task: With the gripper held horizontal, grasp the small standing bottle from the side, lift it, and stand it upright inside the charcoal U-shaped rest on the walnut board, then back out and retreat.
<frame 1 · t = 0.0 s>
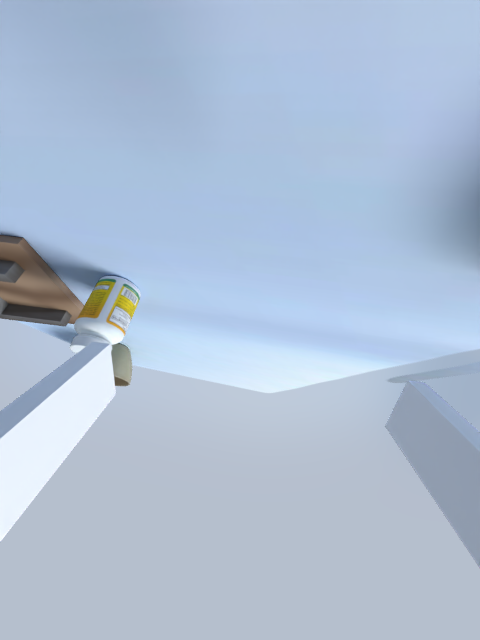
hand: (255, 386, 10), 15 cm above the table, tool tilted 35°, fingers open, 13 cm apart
u rest: (20, 283, 33), on the table
beige bowl: (117, 345, 50), on the table
supplement bottle: (121, 286, 31), on the table
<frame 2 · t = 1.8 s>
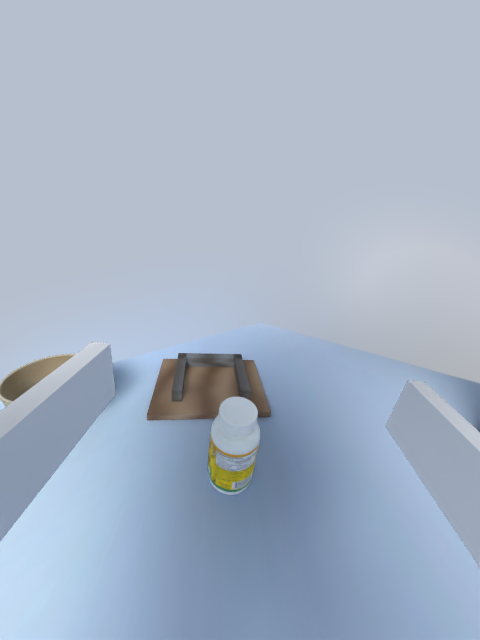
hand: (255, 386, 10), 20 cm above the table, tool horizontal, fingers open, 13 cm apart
u rest: (210, 386, 40), on the table
beige bowl: (64, 418, 32), on the table
supplement bottle: (229, 472, 27), on the table
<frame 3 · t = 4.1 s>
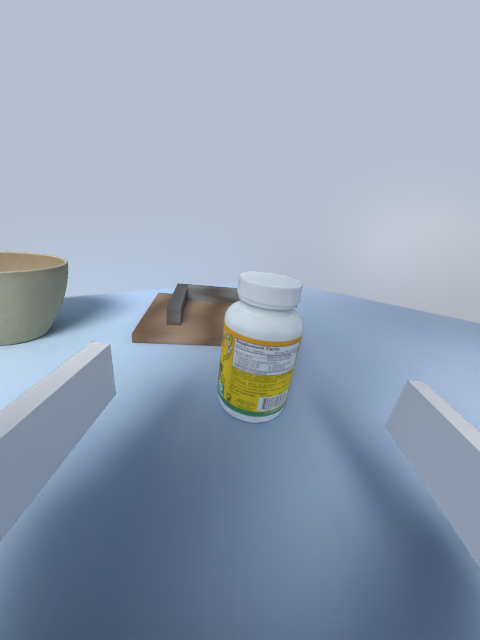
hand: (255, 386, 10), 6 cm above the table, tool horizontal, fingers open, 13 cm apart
u rest: (217, 319, 31), on the table
beige bowl: (17, 334, 23), on the table
supplement bottle: (250, 399, 18), on the table
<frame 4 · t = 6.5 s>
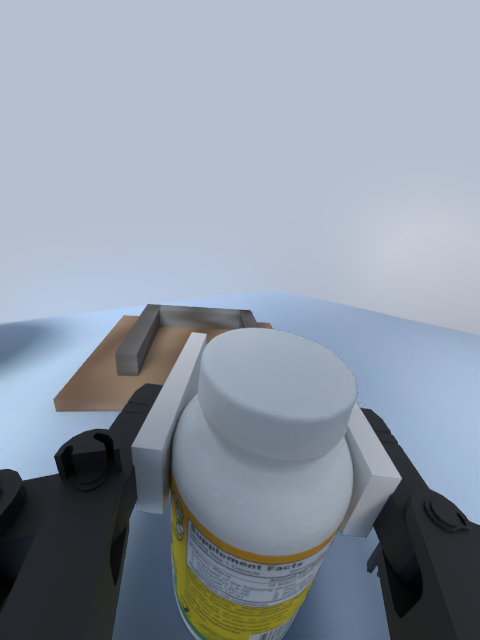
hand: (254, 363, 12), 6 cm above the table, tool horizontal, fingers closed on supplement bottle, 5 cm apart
u rest: (198, 356, 23), on the table
supplement bottle: (236, 554, 10), on the table, touching gripper
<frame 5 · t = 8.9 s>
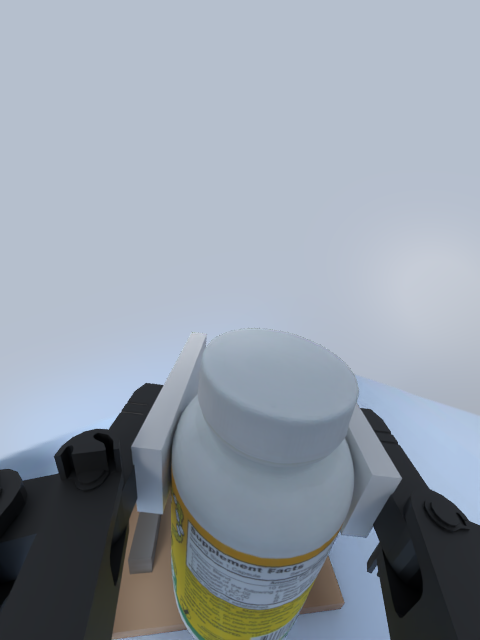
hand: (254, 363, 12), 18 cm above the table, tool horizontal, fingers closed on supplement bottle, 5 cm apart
u rest: (213, 505, 22), on the table
supplement bottle: (236, 555, 10), point 12 cm above the table, touching gripper
when the fingers open (9 cm above the table, at t = 11.5 s): supplement bottle drops 2 cm, resting on u rest.
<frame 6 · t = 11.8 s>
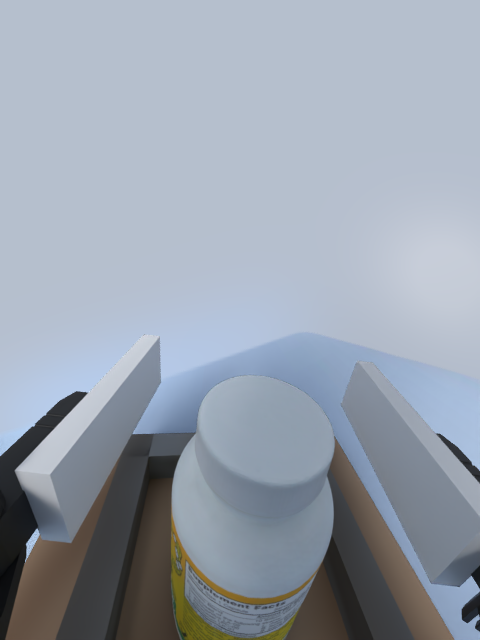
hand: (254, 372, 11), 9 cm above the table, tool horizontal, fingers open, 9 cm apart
u rest: (229, 584, 11), on the table
supplement bottle: (231, 577, 11), point 1 cm above the table, touching u rest
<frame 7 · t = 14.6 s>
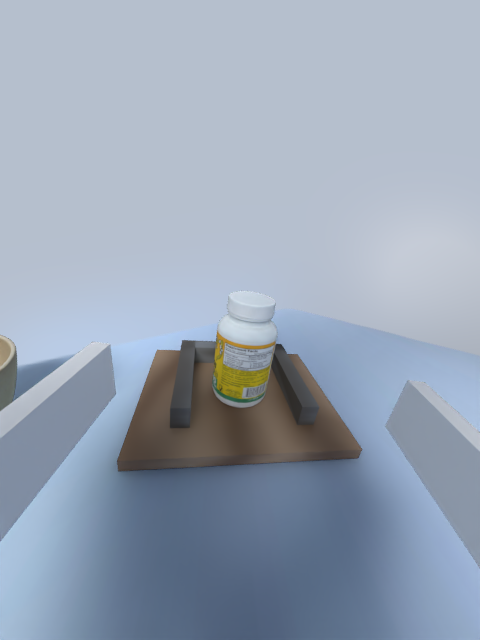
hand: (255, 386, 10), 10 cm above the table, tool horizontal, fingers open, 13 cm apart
u rest: (237, 397, 23), on the table
supplement bottle: (238, 391, 23), point 1 cm above the table, touching u rest
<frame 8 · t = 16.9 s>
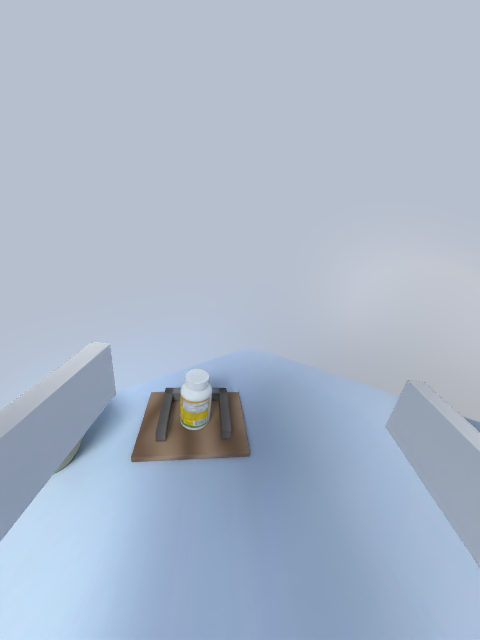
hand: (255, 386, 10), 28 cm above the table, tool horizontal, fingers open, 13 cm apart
u rest: (194, 422, 42), on the table
supplement bottle: (194, 419, 42), point 1 cm above the table, touching u rest
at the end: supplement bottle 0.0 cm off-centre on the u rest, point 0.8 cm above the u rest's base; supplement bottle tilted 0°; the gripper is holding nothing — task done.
